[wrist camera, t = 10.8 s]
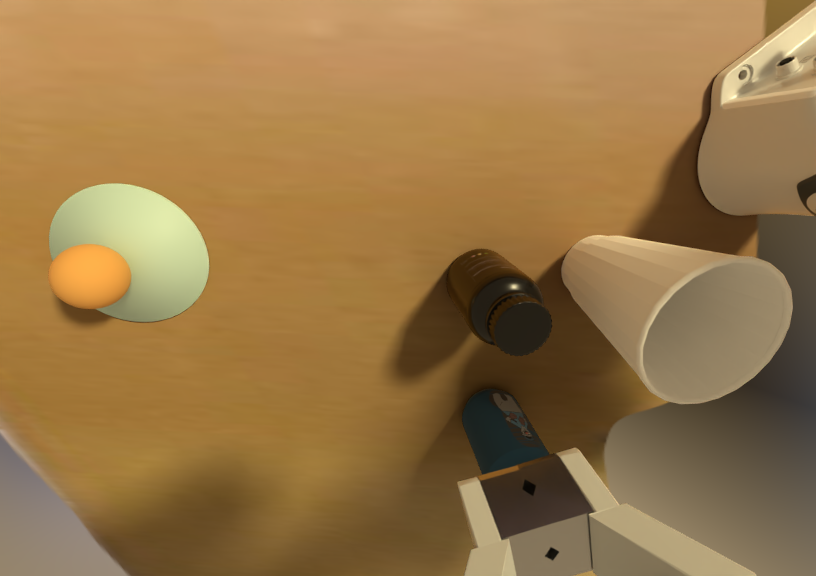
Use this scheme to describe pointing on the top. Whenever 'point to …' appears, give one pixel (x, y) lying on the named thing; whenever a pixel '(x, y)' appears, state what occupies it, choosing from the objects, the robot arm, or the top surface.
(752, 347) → the cup
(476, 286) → the supplement bottle
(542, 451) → the soda can
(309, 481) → the top surface
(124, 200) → the pale green disc
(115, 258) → the ball
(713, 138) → the robot arm
